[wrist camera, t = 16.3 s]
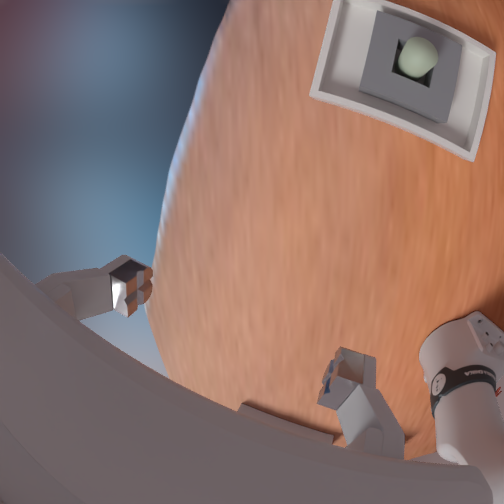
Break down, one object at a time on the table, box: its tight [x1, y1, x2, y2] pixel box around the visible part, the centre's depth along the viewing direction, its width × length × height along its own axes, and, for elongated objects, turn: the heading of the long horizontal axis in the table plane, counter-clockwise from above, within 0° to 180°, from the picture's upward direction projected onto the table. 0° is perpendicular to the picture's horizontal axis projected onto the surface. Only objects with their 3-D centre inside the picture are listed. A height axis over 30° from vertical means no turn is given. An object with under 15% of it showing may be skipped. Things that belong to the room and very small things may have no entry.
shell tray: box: [237, 403, 334, 444], centre depth 69 cm, size 27×21×4 cm
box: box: [309, 0, 496, 162], centre depth 27 cm, size 24×18×6 cm
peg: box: [395, 37, 438, 82], centre depth 25 cm, size 4×4×9 cm
